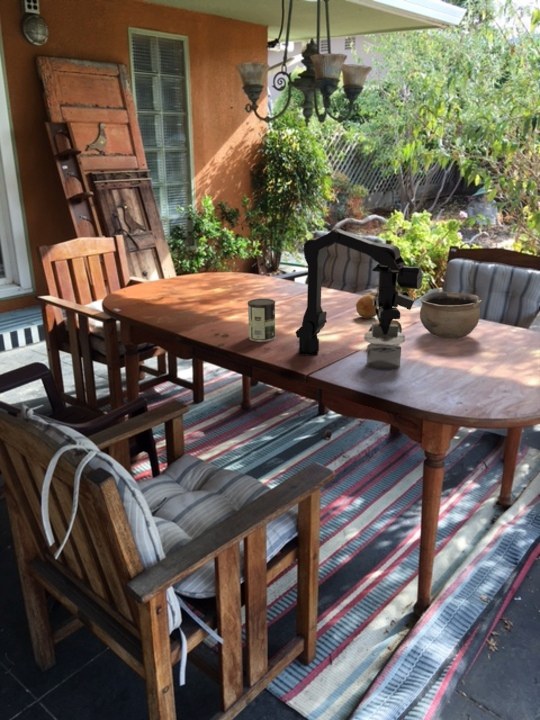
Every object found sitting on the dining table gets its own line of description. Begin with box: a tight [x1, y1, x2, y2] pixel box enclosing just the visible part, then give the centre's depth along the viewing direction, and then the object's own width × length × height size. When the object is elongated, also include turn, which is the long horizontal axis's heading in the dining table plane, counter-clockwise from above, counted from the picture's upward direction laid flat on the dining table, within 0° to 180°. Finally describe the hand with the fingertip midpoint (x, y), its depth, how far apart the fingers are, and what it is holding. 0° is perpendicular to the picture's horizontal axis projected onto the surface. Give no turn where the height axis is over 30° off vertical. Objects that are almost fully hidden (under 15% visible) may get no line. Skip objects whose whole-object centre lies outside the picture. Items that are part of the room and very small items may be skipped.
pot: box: [366, 343, 402, 371], centre depth 201 cm, size 11×16×6 cm
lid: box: [363, 323, 406, 345], centre depth 196 cm, size 13×13×5 cm
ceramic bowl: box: [419, 291, 482, 340], centre depth 226 cm, size 22×22×15 cm
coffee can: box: [247, 298, 276, 343], centre depth 226 cm, size 10×10×14 cm
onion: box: [355, 293, 377, 320], centre depth 252 cm, size 10×10×10 cm
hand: (384, 333), depth 196 cm, fingers closed on lid, 2 cm apart
